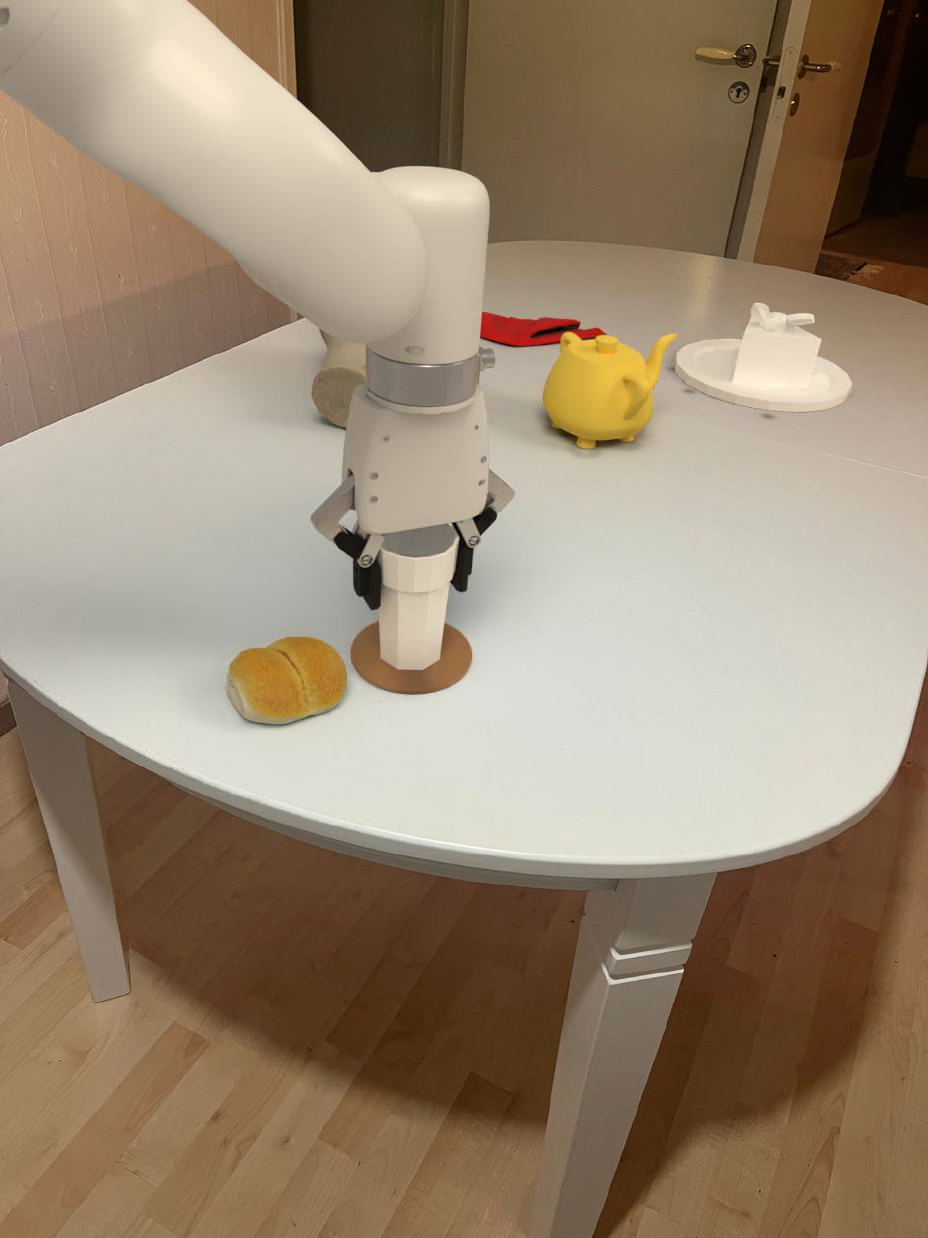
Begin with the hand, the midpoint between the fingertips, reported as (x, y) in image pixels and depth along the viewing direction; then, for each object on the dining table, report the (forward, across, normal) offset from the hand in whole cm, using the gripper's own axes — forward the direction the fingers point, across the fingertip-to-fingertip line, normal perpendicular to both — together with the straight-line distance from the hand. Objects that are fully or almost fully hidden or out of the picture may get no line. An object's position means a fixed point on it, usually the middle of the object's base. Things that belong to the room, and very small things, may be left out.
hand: (412, 590), depth 73 cm
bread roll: (+7, +11, +1) cm, 13 cm away
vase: (+7, -14, -51) cm, 53 cm away
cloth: (+7, -46, -69) cm, 83 cm away
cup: (+6, 0, 0) cm, 6 cm away
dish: (+6, -72, -43) cm, 84 cm away
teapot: (+7, -40, -34) cm, 53 cm away
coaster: (+6, 0, 0) cm, 6 cm away
